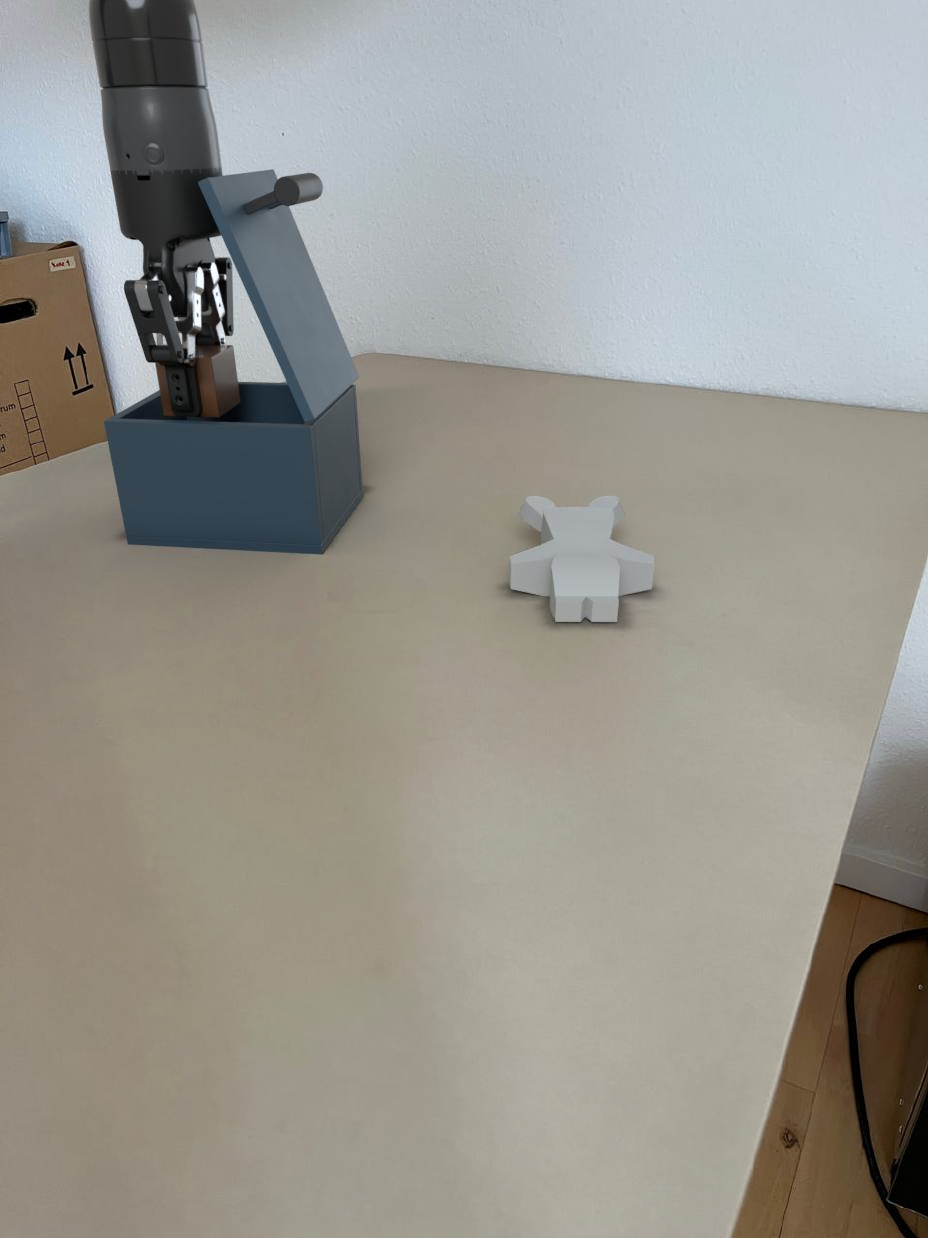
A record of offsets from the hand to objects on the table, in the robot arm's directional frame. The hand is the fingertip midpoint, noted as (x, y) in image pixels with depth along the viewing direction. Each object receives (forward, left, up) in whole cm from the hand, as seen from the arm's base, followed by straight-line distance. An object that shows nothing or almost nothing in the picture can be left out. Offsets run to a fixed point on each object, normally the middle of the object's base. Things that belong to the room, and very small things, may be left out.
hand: (201, 405), depth 73 cm
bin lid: (+8, 0, +8) cm, 11 cm away
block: (0, 0, 0) cm, 0 cm away
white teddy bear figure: (+30, -9, -10) cm, 33 cm away
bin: (+3, 0, -9) cm, 10 cm away
